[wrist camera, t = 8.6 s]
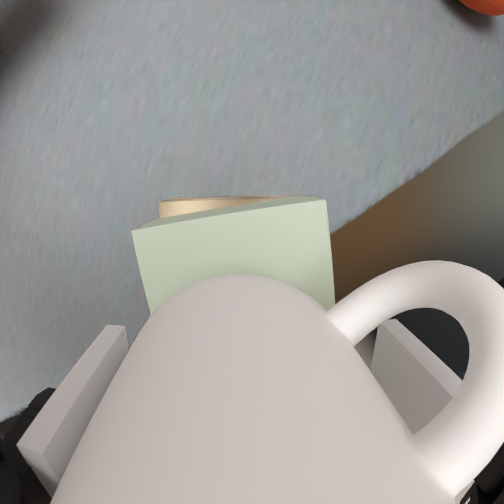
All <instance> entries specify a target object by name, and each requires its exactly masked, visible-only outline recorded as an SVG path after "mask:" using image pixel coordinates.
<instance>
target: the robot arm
mask: <svg viewBox="0 0 504 504" xmlns="http://www.w3.org/2000/svg"><path fill="white" fill-rule="evenodd" d="M128 351H129V344H128V338H127V332H126V326H120V325H106V327H105V328H104V329H103V330H102V331H101V333H100V334H99V335H98V336H97V338H96V339H95V340H94V341H93V343H92V344H91V345H90V346H89V348H88V349H87V350H86V351H85V353H84V354H83V355H82V356H81V358H80V359H79V360H78V361H77V363H76V364H75V365H74V367H73V368H72V369H71V370H70V372H69V373H68V374H67V376H66V377H65V378H64V380H63V381H62V382H61V384H60V385H59V386H58V388H57V389H53V388H49V387H48V388H47V389H45V390H44V391H42V392H41V393H39V394H37V395H36V396H35V397H34V399H33V400H32V401H31V403H30V404H29V405H28V408H26V409H25V410H24V411H23V413H22V416H20V417H19V418H18V419H17V421H16V422H15V423H14V425H13V426H12V427H11V429H10V430H9V431H8V433H7V434H6V435H5V437H4V438H3V439H2V440H1V438H0V504H50V503H51V500H52V498H53V496H54V494H55V492H56V490H57V487H58V485H59V483H60V481H61V479H62V477H63V475H64V472H65V470H66V468H67V466H68V464H69V462H70V460H71V458H72V456H73V454H74V452H75V450H76V448H77V446H78V444H79V442H80V440H81V438H82V436H83V434H84V432H85V430H86V428H87V426H88V424H89V422H90V420H91V419H92V417H93V415H94V413H95V411H96V409H97V407H98V405H99V403H100V402H101V400H102V398H103V396H104V394H105V392H106V390H107V389H108V387H109V385H110V383H111V381H112V379H113V378H114V376H115V374H116V372H117V370H118V369H119V367H120V365H121V363H122V361H123V360H124V358H125V356H126V354H127V353H128ZM370 372H371V373H372V375H373V376H374V377H375V379H376V380H377V382H378V383H379V385H380V386H381V388H382V389H383V391H384V392H385V394H386V395H387V397H388V398H389V399H390V401H391V402H392V404H393V405H394V407H395V408H396V410H397V411H398V413H399V414H400V416H401V417H402V419H403V420H404V422H405V423H406V425H407V426H408V428H409V429H410V431H411V433H412V434H416V433H417V432H418V431H419V430H421V429H422V428H423V427H425V426H426V425H427V424H428V423H430V422H431V421H432V420H433V419H434V418H435V417H436V416H437V415H438V414H439V413H440V412H441V411H442V410H443V409H444V408H445V407H446V406H447V404H448V403H449V402H450V401H451V400H452V398H453V397H454V395H455V394H456V392H457V390H458V389H459V387H460V386H461V384H462V381H463V379H464V375H461V374H460V373H458V374H455V373H454V372H453V371H452V370H451V369H450V368H448V367H447V366H446V365H445V364H444V363H443V362H442V361H441V360H440V359H439V358H438V357H437V356H436V355H435V354H434V353H433V352H432V351H430V350H429V349H428V348H427V347H426V346H425V345H424V344H423V343H422V342H421V341H419V340H418V339H417V338H416V337H415V336H414V335H413V334H412V333H411V332H410V331H409V330H407V329H406V328H405V327H404V326H403V325H402V324H401V323H399V322H398V321H397V320H396V319H393V320H386V321H384V322H383V323H381V324H380V325H379V326H378V332H377V337H376V343H375V349H374V354H373V359H372V364H371V369H370ZM474 481H475V482H474V483H473V485H472V486H471V488H470V489H469V490H468V492H467V493H466V494H465V496H464V497H463V498H462V500H461V501H460V504H465V502H466V501H467V500H468V499H469V497H470V501H469V502H468V504H504V442H503V444H502V445H501V447H500V448H499V450H498V451H497V452H496V454H495V455H494V457H493V458H492V459H491V461H490V462H489V463H488V464H487V465H486V467H485V468H484V469H483V470H482V471H481V472H480V473H479V474H478V475H477V476H476V477H475V478H474Z"/></svg>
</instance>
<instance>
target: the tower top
mask: <svg viewBox="0 0 504 504" xmlns="http://www.w3.org/2000/svg"><path fill="white" fill-rule="evenodd" d="M131 232H132V237H133V242H134V247H135V252H136V256H137V261H138V265H139V269H140V274H141V278H142V282H143V286H144V290H145V294H146V298H147V302H148V306H149V310H150V313H151V315H152V314H153V312H154V311H155V310H156V309H157V308H158V307H159V306H160V305H161V304H162V303H163V302H165V301H166V300H167V299H169V298H170V297H171V296H173V295H174V294H175V293H177V292H178V291H180V290H182V289H183V288H185V287H187V286H189V285H191V284H194V283H196V282H199V281H201V280H204V279H208V278H212V277H216V276H222V275H230V274H252V275H259V276H266V277H269V278H273V279H277V280H280V281H283V282H285V283H287V284H290V285H292V286H294V287H296V288H298V289H299V290H301V291H303V292H305V293H306V294H307V295H309V296H310V297H311V298H313V299H314V300H315V301H317V302H318V303H319V304H320V305H321V306H322V307H323V308H324V309H325V310H326V311H328V310H329V309H330V308H332V307H333V306H334V305H335V295H334V280H333V267H332V256H331V245H330V234H329V225H328V216H327V207H326V199H321V198H315V197H310V196H305V195H303V196H296V197H288V198H281V199H274V200H267V201H261V202H254V203H247V204H241V205H234V206H228V207H222V208H216V209H210V210H204V211H198V212H192V213H187V214H181V215H175V216H170V217H164V218H159V219H154V220H152V221H150V222H148V223H146V224H144V225H142V226H140V227H138V228H136V229H134V230H132V231H131Z"/></svg>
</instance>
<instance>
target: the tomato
mask: <svg viewBox="0 0 504 504" xmlns="http://www.w3.org/2000/svg"><path fill="white" fill-rule="evenodd" d="M459 1H460V2H461V3H462V4H464V5H465V6H467V7H468V8H470V9H472V10H474V11H476V12H478V13H482V14H486V15H502V14H504V0H459Z"/></svg>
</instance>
